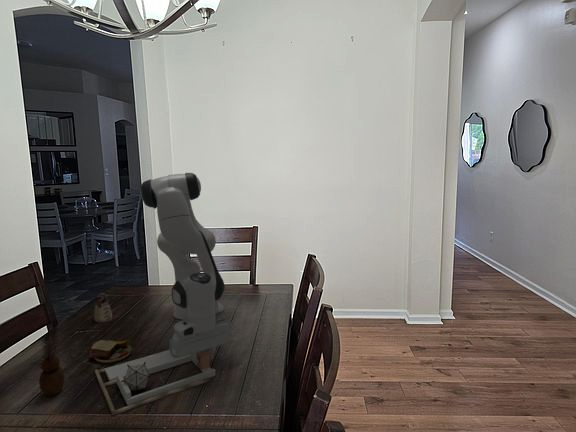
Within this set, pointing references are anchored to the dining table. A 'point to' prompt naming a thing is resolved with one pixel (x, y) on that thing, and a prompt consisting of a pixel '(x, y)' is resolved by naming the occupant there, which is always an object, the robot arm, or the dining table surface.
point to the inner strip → (141, 362)
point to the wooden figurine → (51, 375)
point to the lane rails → (140, 401)
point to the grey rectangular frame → (203, 366)
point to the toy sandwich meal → (110, 351)
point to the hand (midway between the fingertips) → (203, 361)
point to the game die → (137, 377)
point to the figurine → (102, 309)
